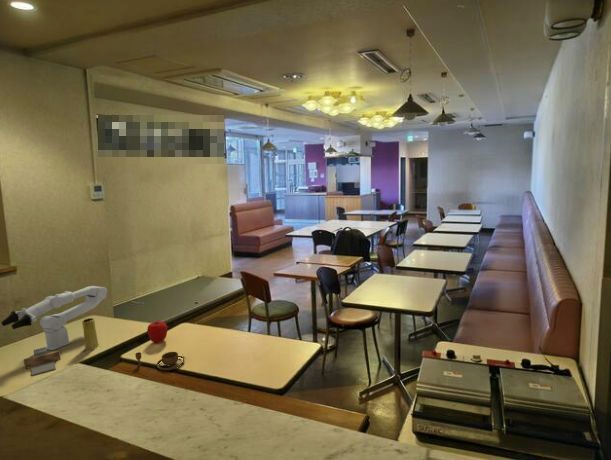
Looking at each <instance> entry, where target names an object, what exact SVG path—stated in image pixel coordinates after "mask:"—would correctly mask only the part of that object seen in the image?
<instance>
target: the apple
mask: <svg viewBox="0 0 611 460" xmlns="http://www.w3.org/2000/svg"><path fill="white" fill-rule="evenodd" d="M147 334H148V337H149V339H150V342H152V343H154V344H160V343H162V342H163V341H164V340H165V339H166V337H167V334H168V325H167V323H165V322H164V321H161V320H160V321H159V320H158V321H153V322H151V323H149V325H148V326H147Z"/></svg>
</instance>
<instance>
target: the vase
mask: <svg viewBox="0 0 611 460" xmlns="http://www.w3.org/2000/svg"><path fill="white" fill-rule="evenodd" d="M81 323H82V330H83V336H84V337H83V338H84V347H85V349H86V350H93V348H94V349H96V348H98V347H99V346H100V345H99V340H98V335H97V329H96V323H95V319H94V317H93V318H92V317H90V318H84V319H83V320H82V322H81ZM97 346H98V347H97ZM95 347H96V348H95Z"/></svg>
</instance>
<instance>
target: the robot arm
mask: <svg viewBox="0 0 611 460" xmlns="http://www.w3.org/2000/svg"><path fill="white" fill-rule="evenodd" d="M107 295H108V289H107V288H106V287H105V286H95V285H89V286H86V287H84V288H83V287H82V288H81V289H78V290H75V291H73V292H72V291H70V290H69V291H68V290H66V291H63V292H62V293H56V294H55V295H49V296H46V297H45V298H44V299H43V300H42V301H40V302H37V303H35V304H34V305H32V306H30V307H27V308H24V307H23V308H21V310H19V311H14V310H13V311H11V312H10V314H8V316H7V317H6V318H5V319H3V320H2V321H1V322H0V323H1V326H2V327H5V326H8V325H11V328H12V330H16V329H19V328H22V327H29V326H32V323H34V322H36V321H38V318H37V317H39V316H41V315H43V314H45V313H47V312H49V311H51V310H53V309H59V308H61V307H62V306H64V305H66V304H69V303H72V302H74V300H75V299H77V298H81V297H82V298H83V297H85V301H84V302H82V303H79V304H77V305H75V306H73V307H71V308H69V309H66V310H64V311H62V312H60V313H55V314H54V313H53V314H51V315H45V316H43V317H41V319H40V321H39V326H40V327H41V328H42V329H43V331H44V337H45V343H46V345H44V346H43V347H42V348H44V347H46V350H48V351H54V350H57V349H59V348H61V347H64V346H66V345H69V344H71V342H70V338H69V333H68V329H67V328H66V326H65V325H66V324H67V322H68V321H70V320H72V319H75V318H77V317H79V316H81V315H83V314H84V313H87V312H89V311H91V310H94V309H95V308H96V307H97V306H98V305H99V304H100V303H101V302H102V301H103V300H105V299H106V298H107Z"/></svg>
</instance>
